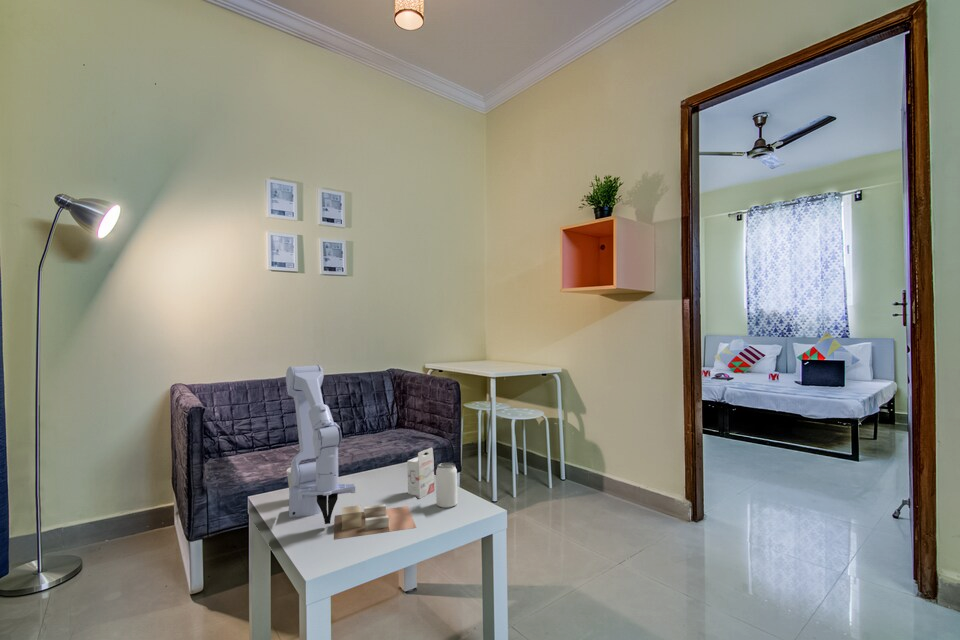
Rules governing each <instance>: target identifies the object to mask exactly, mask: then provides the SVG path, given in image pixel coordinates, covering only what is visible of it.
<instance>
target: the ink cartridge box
mask: <svg viewBox="0 0 960 640" xmlns="http://www.w3.org/2000/svg"><path fill="white" fill-rule="evenodd" d="M425 453H426V454H425ZM434 458H435V457H434V448H433V447H432V446H431V447H429V448H427V449H424V450H422V451H419V452H417V456H416V457H413V458H411V459H408V460H406V461H407V462H406V465H407V467H406V468H407V493H408V495H412V496H415V498H416V499H421V498H423V497H425V496H427V495H430V494H431V493H432V492H434V491H435V466H434V465H435V460H434Z"/></svg>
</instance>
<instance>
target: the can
mask: <svg viewBox="0 0 960 640" xmlns="http://www.w3.org/2000/svg"><path fill="white" fill-rule="evenodd" d="M435 488H436V489H435V493H436V496H435V497H436V499H435V500H436V506H438V507H439V508H441V507H442V508H443V509H448V508H449V507H451V508H454V507H455V506H456V505H458V470H457V468H456V464H455V463H453V462H442V463H438V464H437V468H436V470H435ZM453 506H454V507H453Z"/></svg>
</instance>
